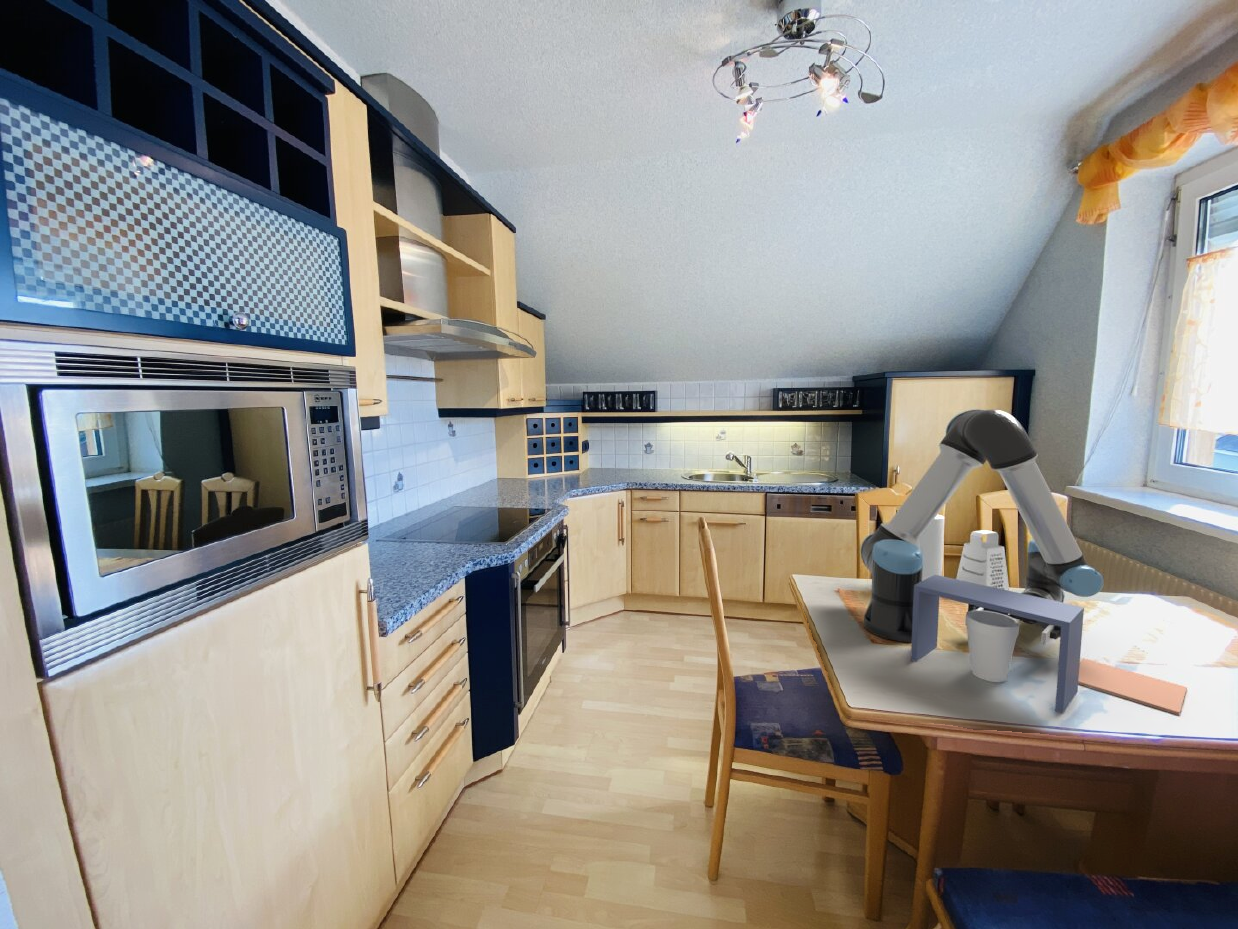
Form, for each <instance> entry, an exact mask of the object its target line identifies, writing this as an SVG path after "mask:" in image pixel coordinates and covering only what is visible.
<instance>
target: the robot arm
mask: <svg viewBox="0 0 1238 929" xmlns="http://www.w3.org/2000/svg"><path fill="white" fill-rule="evenodd" d="M938 446H939V450H940V453H939V454H938V456H937V457H936V458H935V460H934V461H933V462H932V463H931V465H930V466H929V468H928V469H927V470H926V472H925V473H924V474H923V476H922V477H921V478H920V480H919V481H918V482H917V485H915V487H914V488H913V489H912V491H911V492H910V493H909V495H908V496H907V498H905V500H904V501H903V503H902V505H901V506H900V507H899V509H898V510H897V511H896V513H895V514H894V516H893V517H892V518H891V519H890V521H888V522H885V523H880V525H879V526H878V528H877V529H876V530H875V531H874V533H873V532H872V533H871V534H869V535H868V536H866V537H865V538H864V539H863V541H862V542H861V545H860V557H861V560H862V563H863V564H864V566H865V567H866V569H868V571H869V572H870V574H871V596H870V597H871V598H870V601H869V604H868V606H867V608H866V610H865V612H864V614H863V624H862V625H863V628H864V629H865V630H866V631H868V632H869V633H871V634H873V635H875V636H877V637H880V638H882V639H887V640H891V641H896V642H905V643H912V621H913V597H914V585H916V584H918V583H919V582H921V581H922V570H923V564H924V562H923V554H922V551H921V549H920V544H919V538H920V537H921V536H922V534H923V533H924V532H925V530H926V529H927V528H928V526H929V525H930V524H931V522H932V521H933V520H934V518H935V517H936V516H937V515H939V514H940V512H941V510H942V509H943V508H944V507H945V505H946V504H947V502H948V501H949V500H950V499H951V497H952V496H953V495H954V494H955V492H956V491H957V490H958V488H959V487H960V486H961V484H962V483H963V481H964V480H965V479H966V478H967V476H968V475H969V473H970V472H971V471H972V469H976V468H980V467H983V465H984V464H986V462H987V463H988V464H989V466H990V468H991V469H992V470H993V471H996V472H998V474H999V475H1000V477H1001V479H1002V481H1003V483H1004V485H1005V487H1006V489H1007V490H1008V493H1009V495H1010V496H1011V498H1012V501H1013V502H1014V504H1015V507H1016V508H1017V511H1018V512H1019V514H1020V517H1021V518H1022V520H1023V521H1024V523H1025V526H1026V528H1027V530H1028V532H1029V534H1030V535H1031V538H1032V539H1030V541H1028V545H1027V551H1026V574H1025V586H1024V587H1025V588H1024V590H1023V591H1021V592H1020V593H1021V594H1026V595H1031V596H1035V597H1040V598H1044V599H1049V600H1054V601H1058V602H1063V603H1064V601H1065V597H1066V595H1065V592H1067V593H1069V594H1072V595H1074V596H1077V597H1080V598H1088V597H1092V596H1096V595H1097V594H1099V593H1100V592H1101V591H1102V589H1103V587H1104V577H1103V576H1102V574H1101V573H1100V572H1098V571H1097V570H1096V569H1095V568H1094V567H1092V566H1090V565H1089V563H1088V562H1087V559H1086V558H1085V555H1084V554H1083V552H1082V550H1081V549H1080V547H1079V545H1078V542H1077V541H1076V539H1075V537H1074V535H1073V533H1072V531H1071V529H1070V527H1069V525H1068V523H1067V521H1066V519H1065V516H1064V514H1063V513H1062V511H1061V509H1060V507H1059V505H1058V504H1057V500H1056V499H1055V497H1054V496H1053V494H1052V491H1051V489H1050V487H1049V486H1048V483H1047V482H1046V480H1045V478H1044V475H1043V474H1042V472H1041V470H1040V468H1039V466H1038V464H1037V462H1036V460H1037V457H1038V455H1039V454H1038V452H1037V450H1036V449H1035V447H1034V446H1035V445H1034V444H1033V443H1032V441H1031V438H1030V437H1029V434H1027V432H1026V430H1025V428H1024V427H1023V425H1022V424H1021V422H1019V420H1017V418H1016V417H1014V416H1013V415H1012V414H1010V413H1009V412H1007V411H1004V410H1000V409H978V408H977V409H970V410H965V411H963V412H961V413H958V414H956V415H955V416H954V417H953V418H951V420H950V421H949V422H948V423H947V426H946V429H945V436H944V437H943V438H942V440H941V441H940V443H939V444H938ZM972 610H984V611H992V612H996V613H1000V614H1004V615H1007V616H1009V617H1012V618H1014V619H1016V620H1018V621H1019V622H1020V621H1021V622H1022V623H1025V624H1027V625H1034V626H1036V627H1040V628H1041V629H1043V631H1042V632H1041V640H1040V641H1041V645H1044V646H1047V644H1048V643H1049V642H1050V641H1051V640H1058V639H1059V638H1060V634H1061V627H1060V626H1056V625H1052V624H1048V623H1044V622H1040V621H1036V620H1032V619H1028V618H1024V617H1020V616H1016V615H1012V614H1008V613H1003V612H999V611H995V610H991V609H987V608H983V607H979V606H975V605H971V604H967V612H968V611H972Z"/></svg>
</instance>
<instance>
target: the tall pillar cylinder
mask: <svg viewBox="0 0 1238 929" xmlns="http://www.w3.org/2000/svg"><path fill="white" fill-rule="evenodd" d="M944 536H945V515H944V516H943V515H941V514H938V515H937V516H936V517H935V518H934V520H933V521H932V522H931V524H930V525H929V526H928V528H927V529H926V530H925V532H924V533H923V534H922V536H921V537H920V538H919V544H920V549H921V551H922V554H923V562H924V564H923V570H922V581H923V580H925V579H927V578H929V577H931V576H933V575H939V576H943V559H944V558H943V557H944V540H945V539H944V538H945V537H944Z"/></svg>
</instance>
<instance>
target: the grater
mask: <svg viewBox="0 0 1238 929" xmlns="http://www.w3.org/2000/svg"><path fill="white" fill-rule="evenodd" d="M984 535H986V541H983V539H982V538H983V536H984ZM999 536H1000V535H999V534H998V532H997V531H992V530H987V529H982V530H974V531H971V533H970V536H969V542H964V544H963V547H962V552H961V556H960V561H959V565H958V569H957V573H956V574H957V575H956V578H955V579H957V580H962V581H966V582H971V583H976V584H980V585H985V586H989V587H994V588H998V589H1003V590H1008V591H1010V586H1009V576H1008V569H1007V561H1006V560H1007V559H1006V552H1005V551H1006V550H1005V546H1002V545H999Z"/></svg>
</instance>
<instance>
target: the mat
mask: <svg viewBox="0 0 1238 929" xmlns="http://www.w3.org/2000/svg"><path fill="white" fill-rule="evenodd" d="M1078 685H1081V686H1084V687H1086V688H1091V689H1093V690H1097V691H1100V692H1102V693H1107V694H1109V695H1114V696H1117V697H1119V698H1121V699H1125V700H1129V701H1131V702H1134V703H1135V702H1136V703H1139V704H1142V705H1145V706H1148V707H1151V708H1154V709H1158V710H1161V711H1164V712H1168V713H1169V714H1173V715H1177V716H1180V714H1181V710H1182V707H1183V704H1184V700H1185V696H1186V694H1187V691H1188V690H1187V689H1188V687H1187V686H1185V685H1181V684H1177V683H1173V682H1171V681H1166V680H1162V679H1159V678H1155V677H1152V676H1148V675H1144V674H1143V673H1142V674H1141V673H1138V672H1134V671H1131V670H1128V669H1123V668H1119V667H1117V666H1113V665H1110V664H1109V665H1108V664H1105V663H1101V662H1099V661H1094V660H1091V659H1087V658H1084V657H1083V658H1082V659H1080V666H1079V679H1078Z"/></svg>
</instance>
